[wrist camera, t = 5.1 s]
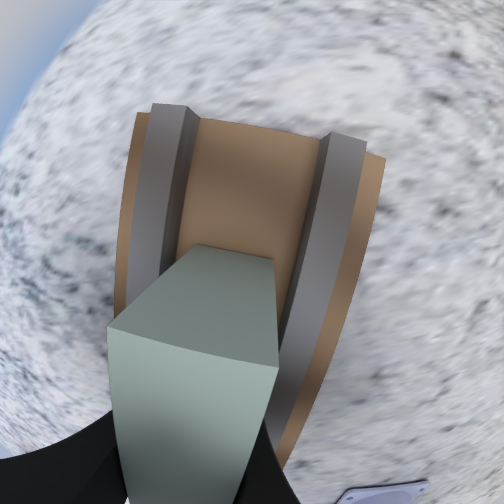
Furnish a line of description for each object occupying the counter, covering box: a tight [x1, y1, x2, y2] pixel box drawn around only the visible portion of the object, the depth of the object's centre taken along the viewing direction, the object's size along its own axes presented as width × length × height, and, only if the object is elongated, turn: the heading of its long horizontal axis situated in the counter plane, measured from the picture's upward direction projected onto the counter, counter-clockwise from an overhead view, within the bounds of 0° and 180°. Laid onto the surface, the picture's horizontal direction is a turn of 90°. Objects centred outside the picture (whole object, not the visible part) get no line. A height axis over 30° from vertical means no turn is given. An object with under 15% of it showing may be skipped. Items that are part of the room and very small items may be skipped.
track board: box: [114, 103, 386, 470], centre depth 12 cm, size 20×10×3 cm, turn 169°
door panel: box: [107, 244, 279, 504], centre depth 9 cm, size 10×3×7 cm, turn 169°
